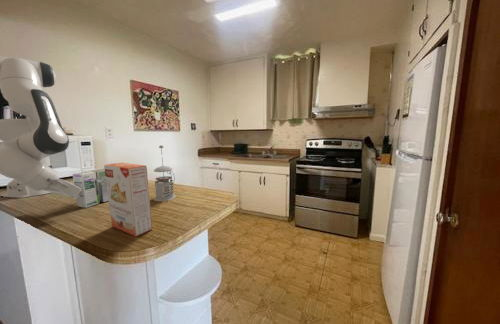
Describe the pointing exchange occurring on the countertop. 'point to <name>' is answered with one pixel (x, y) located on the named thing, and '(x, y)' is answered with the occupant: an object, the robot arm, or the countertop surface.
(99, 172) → the white topped bridge
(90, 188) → the syrup box
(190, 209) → the countertop surface
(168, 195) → the french press
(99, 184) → the gray block
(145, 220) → the cracker box
